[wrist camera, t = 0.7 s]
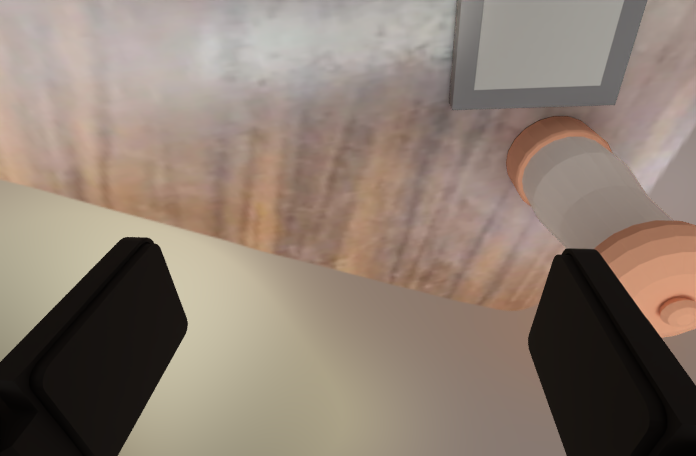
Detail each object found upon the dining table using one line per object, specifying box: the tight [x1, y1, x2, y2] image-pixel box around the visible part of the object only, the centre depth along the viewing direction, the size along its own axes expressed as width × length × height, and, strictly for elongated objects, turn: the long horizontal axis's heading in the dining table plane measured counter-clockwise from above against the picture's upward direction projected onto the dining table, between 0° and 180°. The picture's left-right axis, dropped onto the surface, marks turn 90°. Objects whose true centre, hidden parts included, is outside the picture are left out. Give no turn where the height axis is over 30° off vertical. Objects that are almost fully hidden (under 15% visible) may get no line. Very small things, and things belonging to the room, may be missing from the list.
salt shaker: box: [506, 116, 696, 338], centre depth 26 cm, size 7×7×19 cm
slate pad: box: [449, 0, 647, 110], centre depth 28 cm, size 12×12×2 cm
